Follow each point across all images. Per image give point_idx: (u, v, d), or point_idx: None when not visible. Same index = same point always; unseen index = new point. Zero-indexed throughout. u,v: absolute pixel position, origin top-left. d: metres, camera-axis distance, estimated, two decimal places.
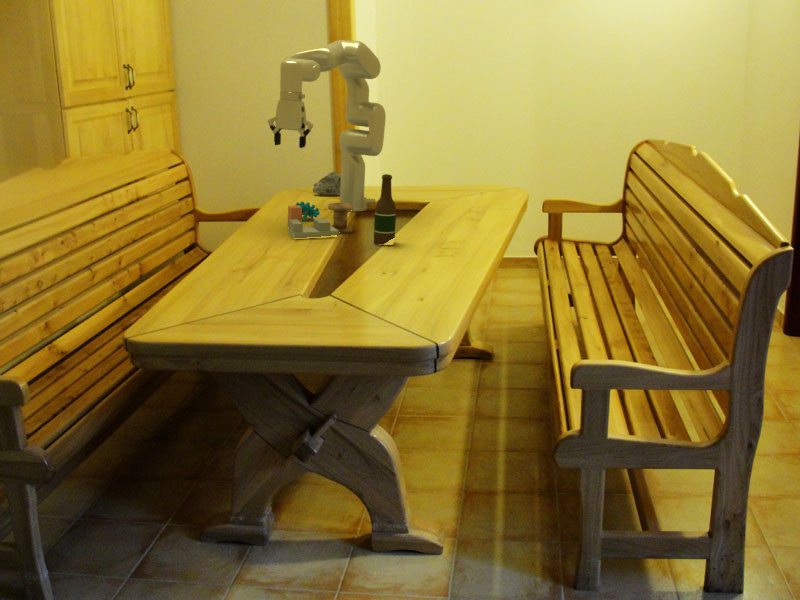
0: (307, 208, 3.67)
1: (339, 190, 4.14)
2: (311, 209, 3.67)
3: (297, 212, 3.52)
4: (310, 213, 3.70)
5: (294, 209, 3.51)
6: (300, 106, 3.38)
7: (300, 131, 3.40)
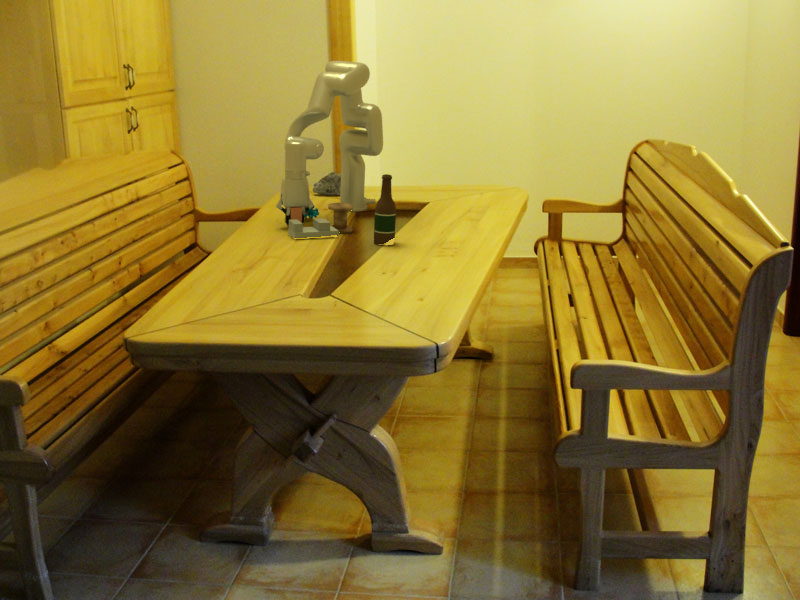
0: None
1: (339, 190, 4.14)
2: (310, 209, 3.67)
3: (297, 212, 3.52)
4: (310, 213, 3.69)
5: (294, 209, 3.51)
6: None
7: (303, 209, 3.53)
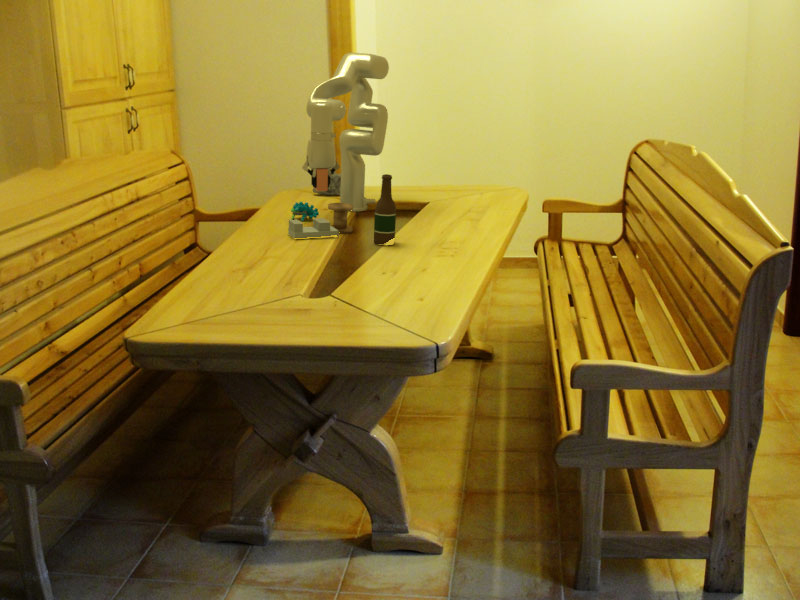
0: (306, 208, 3.66)
1: (339, 190, 4.14)
2: (310, 209, 3.66)
3: (323, 174, 3.54)
4: (309, 213, 3.69)
5: (320, 170, 3.53)
6: None
7: (329, 171, 3.55)
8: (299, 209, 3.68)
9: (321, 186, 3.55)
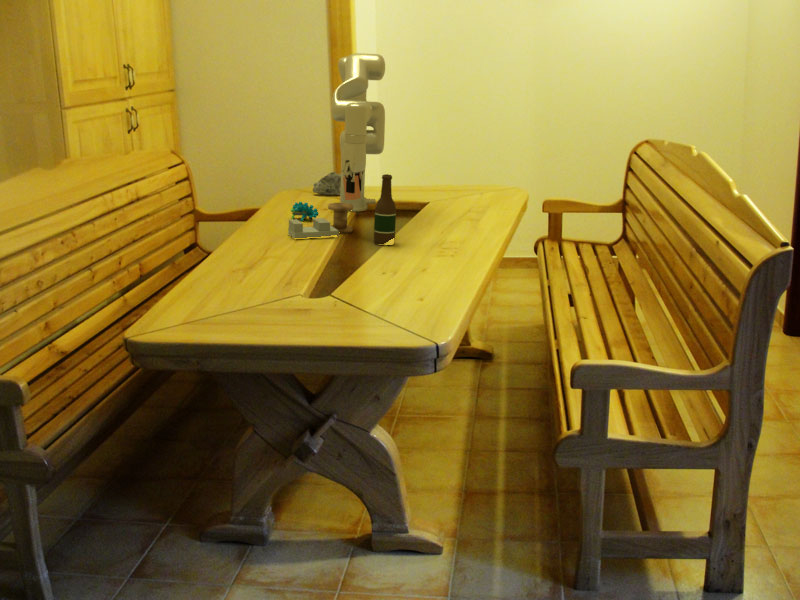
0: (305, 208, 3.66)
1: (339, 190, 4.14)
2: (309, 209, 3.66)
3: (356, 180, 3.42)
4: (309, 213, 3.69)
5: (354, 177, 3.41)
6: None
7: (361, 174, 3.44)
8: (299, 209, 3.68)
9: (357, 193, 3.43)
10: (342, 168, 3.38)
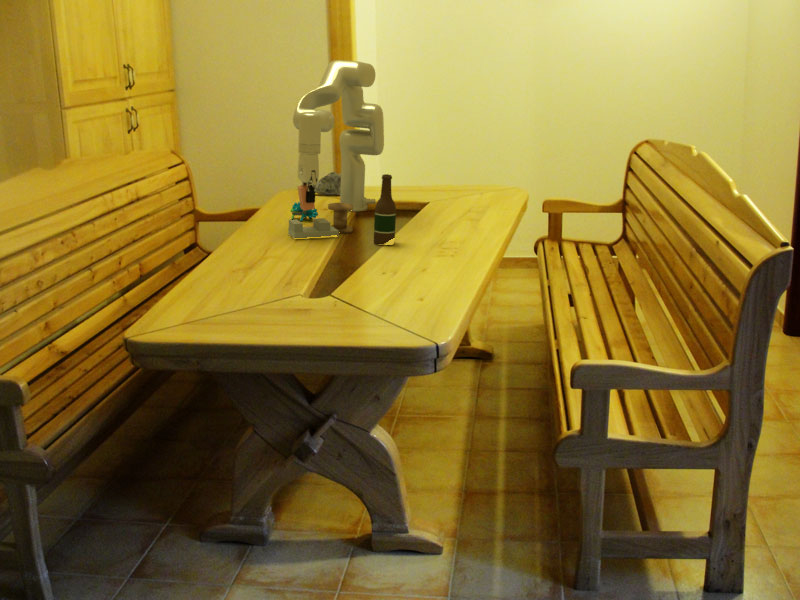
0: None
1: (339, 190, 4.14)
2: None
3: None
4: (309, 213, 3.69)
5: None
6: None
7: None
8: (298, 209, 3.68)
9: None
10: (307, 179, 3.33)
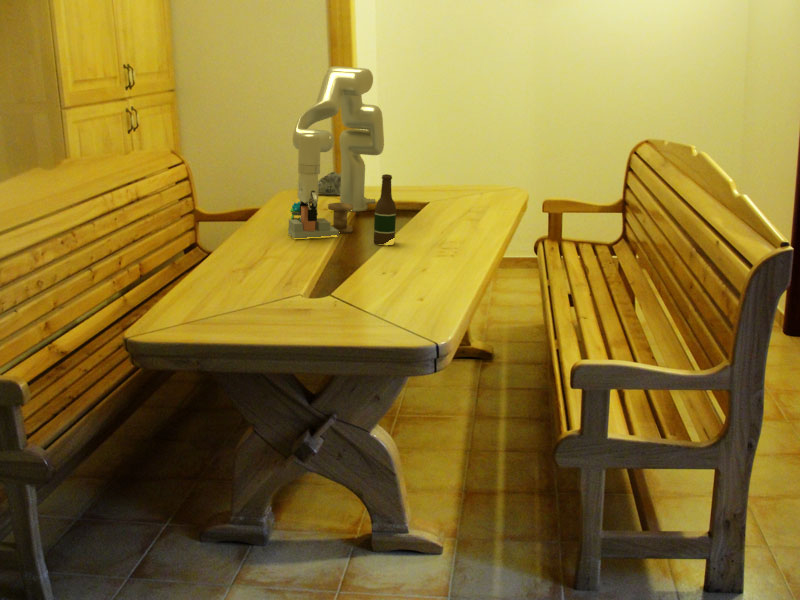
0: None
1: (339, 190, 4.14)
2: None
3: None
4: None
5: None
6: None
7: None
8: (298, 209, 3.68)
9: None
10: (307, 199, 3.35)
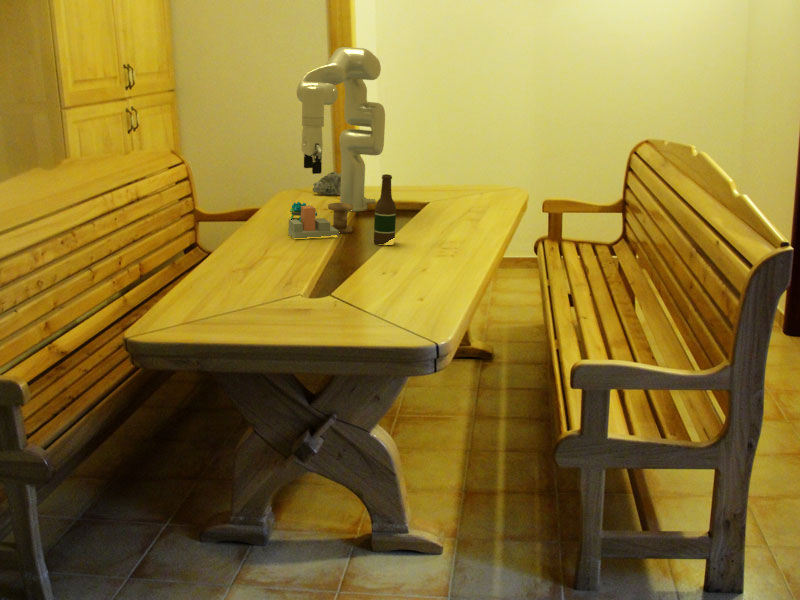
0: None
1: (339, 190, 4.14)
2: None
3: None
4: None
5: None
6: None
7: None
8: (298, 209, 3.68)
9: None
10: (311, 152, 3.36)
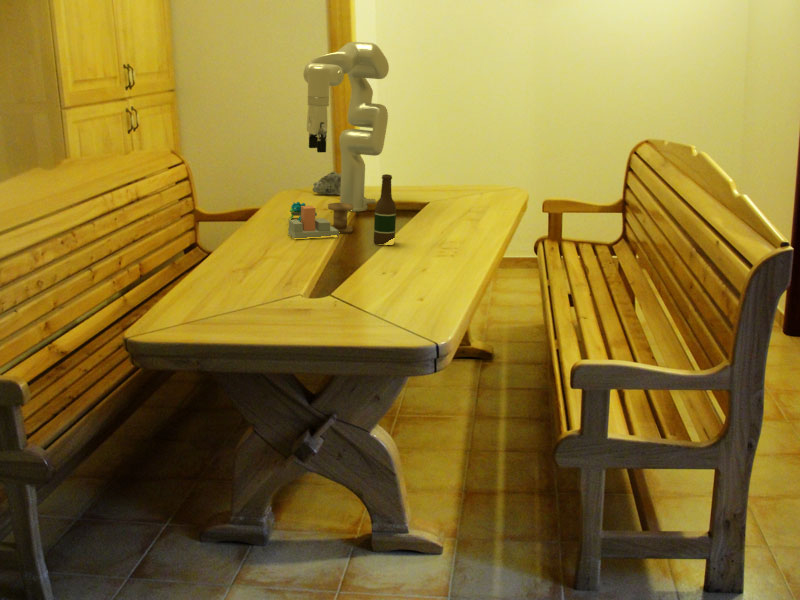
0: None
1: (339, 190, 4.15)
2: None
3: None
4: None
5: None
6: None
7: None
8: (297, 209, 3.68)
9: None
10: (316, 131, 3.43)
